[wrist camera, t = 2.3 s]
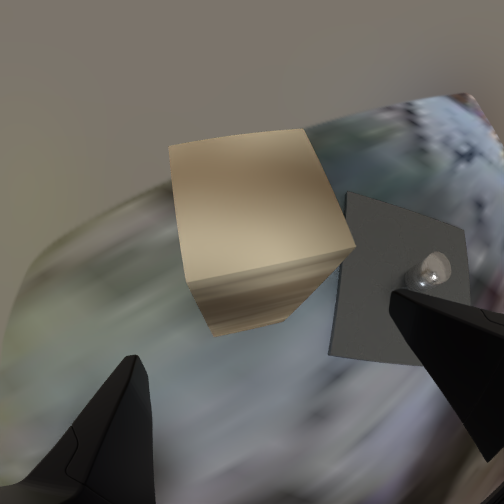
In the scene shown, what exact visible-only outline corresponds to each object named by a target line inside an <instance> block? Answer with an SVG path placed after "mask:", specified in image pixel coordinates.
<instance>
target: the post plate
mask: <svg viewBox="0 0 504 504" xmlns="http://www.w3.org/2000/svg"><path fill="white" fill-rule="evenodd" d="M344 218H345V220H346V222H347V225H348V227H349V230H350V232H351V235H352V237H353V240H354V243H355V245H356V247H355V249H354V250H353V251H352V252H351V253H350V254H349V255H348V256H347V257H346V258H345V259H344V261H343V262H342V263H341V264H340V271H339V280H338V289H337V297H336V305H335V312H334V319H333V326H332V333H331V339H330V345H329V351H328V355H329V356H336V357H343V358H350V359H357V360H365V361H373V362H382V363H391V364H401V365H412V366H423V365H422V363H421V362H420V361H419V359H418V358H417V357H416V355H415V354H414V353H413V351H412V350H411V349H410V347H409V346H408V344H407V343H406V341H405V339H404V338H403V336H402V334H401V333H400V331H399V329H398V328H397V326H396V325H395V323H394V321H393V320H392V318H391V317H390V314H389V303H390V295H391V292H392V291H394V290H396V289H399V288H403V289H407V290H411V291H415V292H419V293H422V294H426V295H430V296H434V297H438V298H442V299H446V300H450V301H453V302H457V303H461V304H465V305H469V306H470V284H469V270H468V259H467V249H466V241H465V234H464V230H462V229H459V228H457V227H454V226H452V225H449V224H446V223H444V222H441V221H438V220H436V219H433V218H430V217H427V216H424V215H421V214H419V213H416V212H413V211H410V210H407V209H404V208H401V207H398V206H395V205H392V204H389V203H385V202H382V201H379V200H376V199H372V198H369V197H366V196H362V195H359V194H356V193H352V192H349V191H347V193H346V194H345V209H344Z"/></svg>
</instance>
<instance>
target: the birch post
mask: <svg viewBox="0 0 504 504" xmlns="http://www.w3.org/2000/svg"><path fill="white" fill-rule="evenodd" d="M169 157H170V167H171V177H172V186H173V195H174V203H175V211H176V218H177V226H178V233H179V240H180V246H181V253H182V259H183V265H184V271H185V277H186V283H187V285H188V287H189V289H190V291H191V293H192V295H193V297H194V299H195V301H196V303H197V305H198V307H199V309H200V311H201V313H202V315H203V317H204V319H205V321H206V323H207V325H208V327H209V328H210V330H211V332H212V334H213V336H214V337H217V336H222V335H227V334H231V333H236V332H241V331H245V330H250V329H254V328H258V327H262V326H267V325H271V324H275V323H279V322H283V321H284V320H286V319H287V318H288V317H289V316H290V315H291V314H292V313H293V312H294V311H295V310H296V309H297V308H298V307H299V306H300V305H301V304H302V303H303V302H304V301H305V300H306V299H307V298H308V297H309V296H310V295H311V294H312V293H313V292H314V291H315V290H316V289H317V288H318V287H319V286H320V285H321V284H322V283H323V282H324V281H325V279H326V278H327V277H328V276H329V275H330V274H331V273H332V272H333V271H334V270H335V269H336V268H337V267H338V266H339V265H340V264H341V263H342V262H343V261H344V259H345V258H346V257H347V256H348V255H349V254H350V253H351V252H352V251H353V250H354V249H355V247H356V245H355V243H354V240H353V237H352V235H351V232H350V230H349V227H348V225H347V222H346V220H345V218H344V215H343V213H342V210H341V208H340V206H339V203H338V201H337V199H336V196H335V194H334V192H333V190H332V187H331V185H330V183H329V181H328V179H327V176H326V174H325V172H324V170H323V168H322V166H321V164H320V162H319V159H318V157H317V155H316V153H315V151H314V149H313V147H312V145H311V143H310V141H309V139H308V137H307V135H306V133H305V131H304V129H291V130H279V131H267V132H257V133H249V134H241V135H233V136H226V137H218V138H212V139H206V140H199V141H194V142H188V143H182V144H177V145H172V146H169Z"/></svg>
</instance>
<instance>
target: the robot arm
mask: <svg viewBox="0 0 504 504" xmlns="http://www.w3.org/2000/svg"><path fill="white" fill-rule="evenodd" d="M389 314H390V317H391V318H392V320H393V321H394V323H395V325H396V326H397V328H398V329H399V331H400V333H401V334H402V336H403V338H404V339H405V341H406V343H407V344H408V346H409V347H410V349H411V350H412V351H413V353H414V354H415V355H416V357H417V358H418V359H419V361H420V362H421V363H422V365H423V366H424V368H425V369H426V370H427V372H428V373H429V374H430V376H431V377H432V379H433V380H434V382H435V383H436V384H437V386H438V387H439V389H440V390H441V392H442V393H443V394H444V396H445V397H446V399H447V400H448V402H449V403H450V405H451V406H452V408H453V409H454V411H455V412H456V414H457V415H458V417H459V418H460V420H461V421H462V423H463V425H464V426H465V428H466V429H467V431H468V433H469V434H470V436H471V437H472V439H473V441H474V442H475V444H476V445H477V447H478V449H479V450H480V452H481V454H482V455H483V457H484V459H485V460H486V462H487V463H488V462H489V461H490V460H491V459H492V458H493V457H494V456H495V455H496V454H497V453H498V452H499V451H500V450H501V449H502V448H503V447H504V314H501V313H496V312H492V311H488V310H484V309H480V308H476V307H473V306H469V305H465V304H461V303H457V302H453V301H450V300H446V299H442V298H438V297H434V296H430V295H426V294H422V293H419V292H415V291H411V290H407V289H403V288H399V289H396V290H394V291H392V292H391V295H390V303H389ZM0 504H156V501H155V488H154V471H153V438H152V410H151V402H150V392H149V381H148V375H147V372H146V370H145V368H144V366H143V364H142V362H141V360H140V358H139V356H138V355H130V356H126V357H125V358H124V359H123V360H122V361H121V363H120V364H119V365H118V366H117V367H116V369H115V370H114V371H113V372H112V374H111V375H110V376H109V377H108V379H107V380H106V381H105V382H104V384H103V385H102V386H101V387H100V389H99V390H98V391H97V393H96V394H95V395H94V396H93V398H92V399H91V400H90V401H89V403H88V404H87V405H86V407H85V408H84V409H83V410H82V412H81V413H80V414H79V416H78V417H77V418H76V419H75V421H74V422H73V423H72V426H70V427H69V428H68V430H67V431H66V432H65V434H64V435H63V436H62V437H61V439H60V440H59V441H58V442H57V444H56V445H55V446H54V447H53V448H52V449H51V451H50V452H49V453H48V454H47V455H46V456H45V457H44V458H43V459H42V460H41V462H40V463H39V464H38V465H37V466H36V467H35V468H34V469H33V470H32V471H31V472H30V473H29V475H28V476H27V477H26V478H24V479H23V480H22V481H20V482H18V483H16V484H13V485H9V486H3V487H0ZM481 504H504V482H503V483H502V484H501V485H500V486H499V487H498V488H497V489H496V490H495V491H494V492H492V493H491V494H490V495H489V496H488V497H487V498H486V499H485V500H484V501H483V502H482V503H481Z"/></svg>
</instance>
